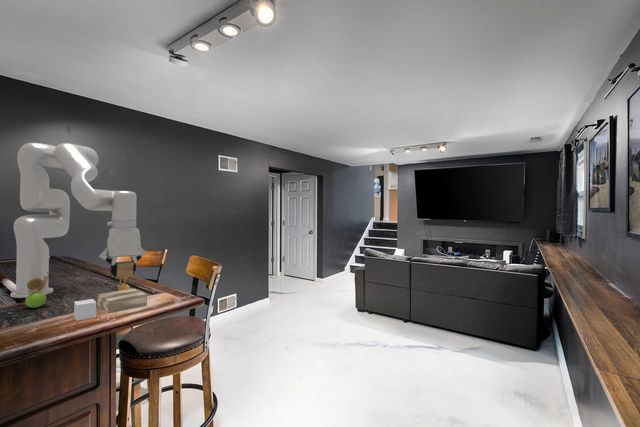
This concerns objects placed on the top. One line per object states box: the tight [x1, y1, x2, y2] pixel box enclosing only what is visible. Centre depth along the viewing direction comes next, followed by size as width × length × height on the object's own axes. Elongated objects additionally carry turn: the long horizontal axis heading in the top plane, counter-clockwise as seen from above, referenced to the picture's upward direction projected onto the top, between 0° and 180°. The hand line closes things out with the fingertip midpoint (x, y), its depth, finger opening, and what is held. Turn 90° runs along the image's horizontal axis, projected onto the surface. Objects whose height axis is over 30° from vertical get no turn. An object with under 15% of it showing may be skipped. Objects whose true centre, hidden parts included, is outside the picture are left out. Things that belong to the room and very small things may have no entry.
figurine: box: [111, 274, 134, 291], centre depth 129 cm, size 8×6×12 cm
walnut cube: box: [113, 260, 134, 279], centre depth 115 cm, size 5×5×5 cm
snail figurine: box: [25, 271, 50, 309], centre depth 110 cm, size 5×6×12 cm
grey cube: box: [73, 298, 97, 322], centre depth 102 cm, size 5×5×5 cm
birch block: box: [96, 288, 148, 314], centre depth 115 cm, size 12×12×4 cm
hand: (123, 274), depth 115 cm, fingers closed on walnut cube, 5 cm apart
